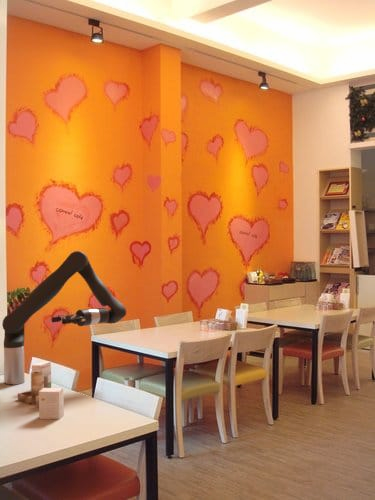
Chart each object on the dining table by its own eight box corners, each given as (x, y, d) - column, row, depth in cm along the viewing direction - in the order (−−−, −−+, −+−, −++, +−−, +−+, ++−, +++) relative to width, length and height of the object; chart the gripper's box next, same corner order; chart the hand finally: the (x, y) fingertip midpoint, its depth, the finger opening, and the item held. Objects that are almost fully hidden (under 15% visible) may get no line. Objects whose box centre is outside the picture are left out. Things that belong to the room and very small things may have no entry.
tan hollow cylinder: (29, 397, 239) (28, 372, 239) (39, 395, 243) (38, 370, 242) (34, 400, 236) (34, 373, 236) (44, 397, 239) (44, 371, 239)
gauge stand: (35, 406, 229) (35, 376, 229) (49, 403, 233) (48, 374, 233) (43, 409, 225) (43, 379, 225) (56, 406, 229) (56, 376, 229)
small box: (64, 414, 217) (63, 387, 217) (59, 419, 212) (59, 391, 211) (44, 414, 218) (43, 387, 218) (38, 419, 212) (38, 391, 212)
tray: (17, 399, 239) (17, 393, 239) (41, 394, 247) (41, 388, 247) (31, 404, 231) (31, 398, 231) (55, 399, 239) (55, 393, 239)
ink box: (42, 386, 261) (42, 360, 261) (51, 386, 260) (51, 361, 260) (31, 390, 253) (31, 364, 253) (40, 391, 252) (40, 365, 252)
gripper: (78, 307, 265) (48, 311, 253) (96, 310, 255) (65, 313, 243) (79, 323, 265) (48, 327, 253) (97, 326, 255) (66, 331, 243)
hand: (57, 320), depth 248 cm, fingers open, 8 cm apart
